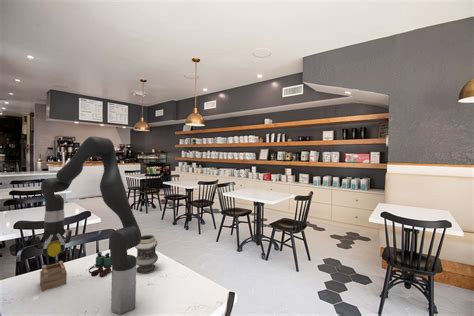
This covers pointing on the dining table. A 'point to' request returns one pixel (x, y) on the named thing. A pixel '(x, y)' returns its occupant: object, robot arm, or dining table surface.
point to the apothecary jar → (146, 254)
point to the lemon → (53, 248)
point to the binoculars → (101, 265)
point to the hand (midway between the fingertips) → (54, 253)
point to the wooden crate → (53, 276)
